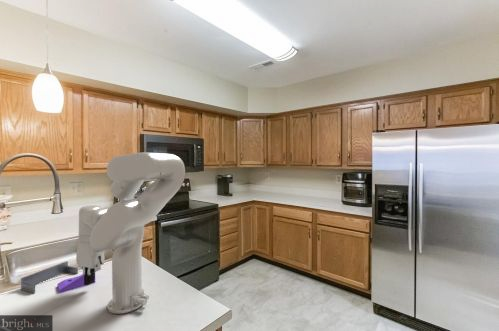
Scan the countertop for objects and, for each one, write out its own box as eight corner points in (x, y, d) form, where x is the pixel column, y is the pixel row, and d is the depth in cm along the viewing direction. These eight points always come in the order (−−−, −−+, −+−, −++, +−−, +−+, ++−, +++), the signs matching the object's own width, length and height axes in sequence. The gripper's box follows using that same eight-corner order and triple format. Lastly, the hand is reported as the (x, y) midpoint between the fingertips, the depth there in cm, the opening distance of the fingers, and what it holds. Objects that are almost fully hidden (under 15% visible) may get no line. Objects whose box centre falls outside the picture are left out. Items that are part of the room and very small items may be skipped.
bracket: (91, 277, 106) (91, 262, 106) (95, 283, 101) (95, 267, 101) (57, 287, 98) (57, 270, 98) (59, 294, 93) (59, 276, 93)
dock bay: (77, 274, 109) (77, 263, 109) (33, 293, 93) (33, 281, 93) (66, 272, 111) (66, 261, 111) (21, 290, 95) (20, 278, 95)
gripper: (112, 237, 96) (111, 282, 96) (85, 232, 100) (84, 275, 101) (95, 243, 88) (94, 292, 89) (67, 237, 93) (66, 284, 94)
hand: (89, 283), depth 95 cm, fingers closed
